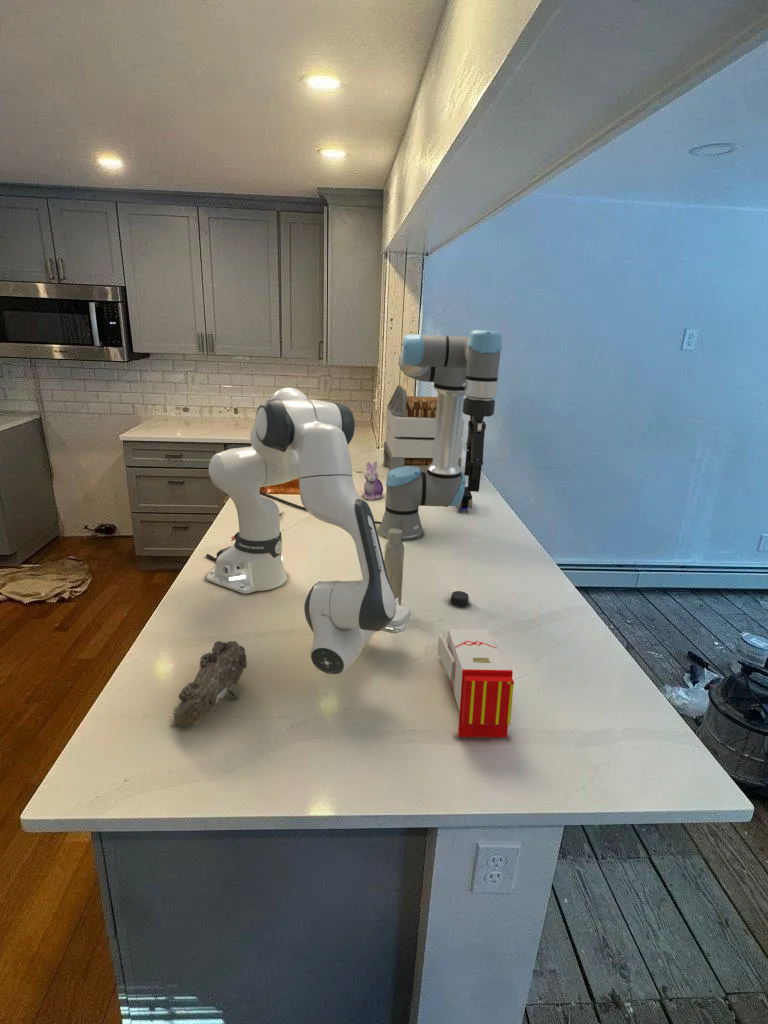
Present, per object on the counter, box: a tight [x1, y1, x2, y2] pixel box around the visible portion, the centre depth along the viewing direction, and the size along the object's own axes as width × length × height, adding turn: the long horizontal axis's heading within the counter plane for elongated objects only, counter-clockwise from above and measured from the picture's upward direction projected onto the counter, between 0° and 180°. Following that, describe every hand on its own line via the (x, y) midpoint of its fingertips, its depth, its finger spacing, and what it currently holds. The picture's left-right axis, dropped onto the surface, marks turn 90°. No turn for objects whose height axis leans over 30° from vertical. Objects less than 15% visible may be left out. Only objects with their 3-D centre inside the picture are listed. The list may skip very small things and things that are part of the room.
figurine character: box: [455, 486, 474, 513], centre depth 227 cm, size 7×8×15 cm
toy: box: [437, 628, 515, 738], centre depth 117 cm, size 12×13×30 cm
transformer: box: [383, 384, 465, 472], centre depth 268 cm, size 34×33×41 cm
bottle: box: [383, 529, 405, 605], centre depth 147 cm, size 5×5×22 cm
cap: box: [450, 590, 470, 608], centre depth 154 cm, size 5×5×2 cm
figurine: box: [363, 460, 384, 501], centre depth 235 cm, size 9×10×15 cm
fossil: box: [173, 640, 248, 727], centre depth 113 cm, size 22×10×15 cm
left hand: (377, 595), depth 138 cm, fingers open, 8 cm apart
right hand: (471, 483), depth 143 cm, fingers open, 13 cm apart
